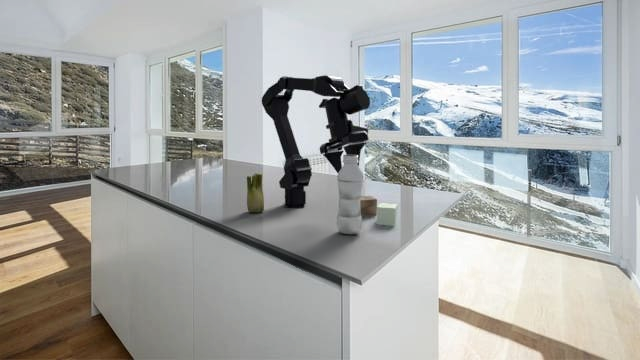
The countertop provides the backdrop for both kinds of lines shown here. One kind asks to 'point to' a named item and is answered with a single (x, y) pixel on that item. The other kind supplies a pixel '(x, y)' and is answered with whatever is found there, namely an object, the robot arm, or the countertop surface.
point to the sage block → (386, 214)
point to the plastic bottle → (349, 196)
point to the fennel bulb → (255, 194)
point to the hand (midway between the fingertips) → (348, 172)
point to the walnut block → (368, 205)
